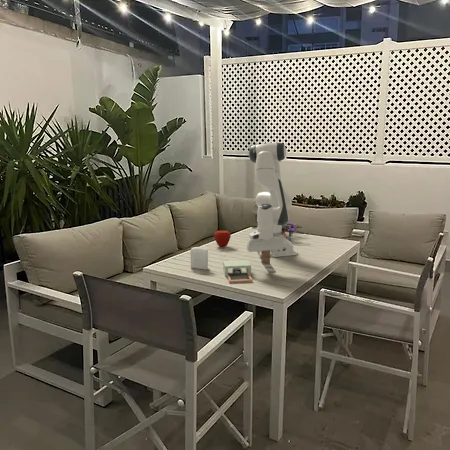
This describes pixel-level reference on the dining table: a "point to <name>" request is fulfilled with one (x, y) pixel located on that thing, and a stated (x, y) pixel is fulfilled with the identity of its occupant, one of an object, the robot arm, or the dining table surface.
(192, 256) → the photo printer
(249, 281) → the frame
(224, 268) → the stand
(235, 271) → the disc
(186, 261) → the dining table surface
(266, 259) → the wooden handled metal tool
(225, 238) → the apple
